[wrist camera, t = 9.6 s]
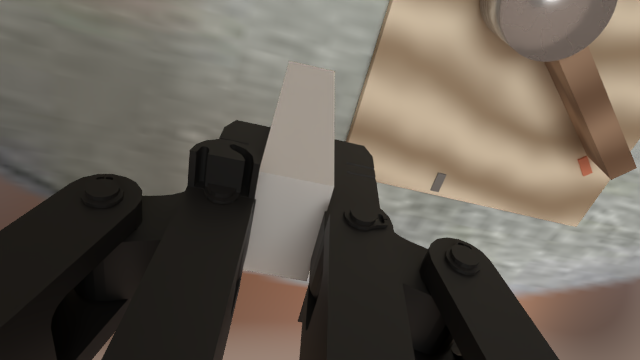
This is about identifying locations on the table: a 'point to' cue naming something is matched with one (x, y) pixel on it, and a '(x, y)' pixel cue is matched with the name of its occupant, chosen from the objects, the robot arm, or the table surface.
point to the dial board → (487, 111)
